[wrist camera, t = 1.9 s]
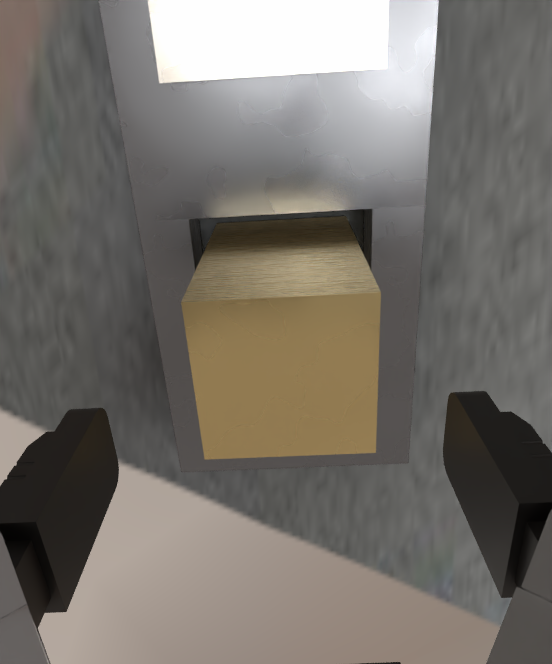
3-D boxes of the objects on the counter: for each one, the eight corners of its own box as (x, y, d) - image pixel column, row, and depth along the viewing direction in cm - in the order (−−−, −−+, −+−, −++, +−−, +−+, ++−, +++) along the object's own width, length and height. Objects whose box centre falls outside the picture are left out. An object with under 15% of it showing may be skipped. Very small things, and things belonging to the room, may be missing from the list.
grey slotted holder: (74, -252, 14) (42, -305, 12) (438, -284, 14) (463, -344, 12) (188, 443, 25) (180, 475, 23) (398, 435, 25) (409, 466, 23)
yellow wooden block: (217, 223, 20) (180, 302, 13) (345, 216, 20) (380, 292, 13) (229, 337, 22) (204, 459, 15) (345, 332, 22) (375, 452, 15)
